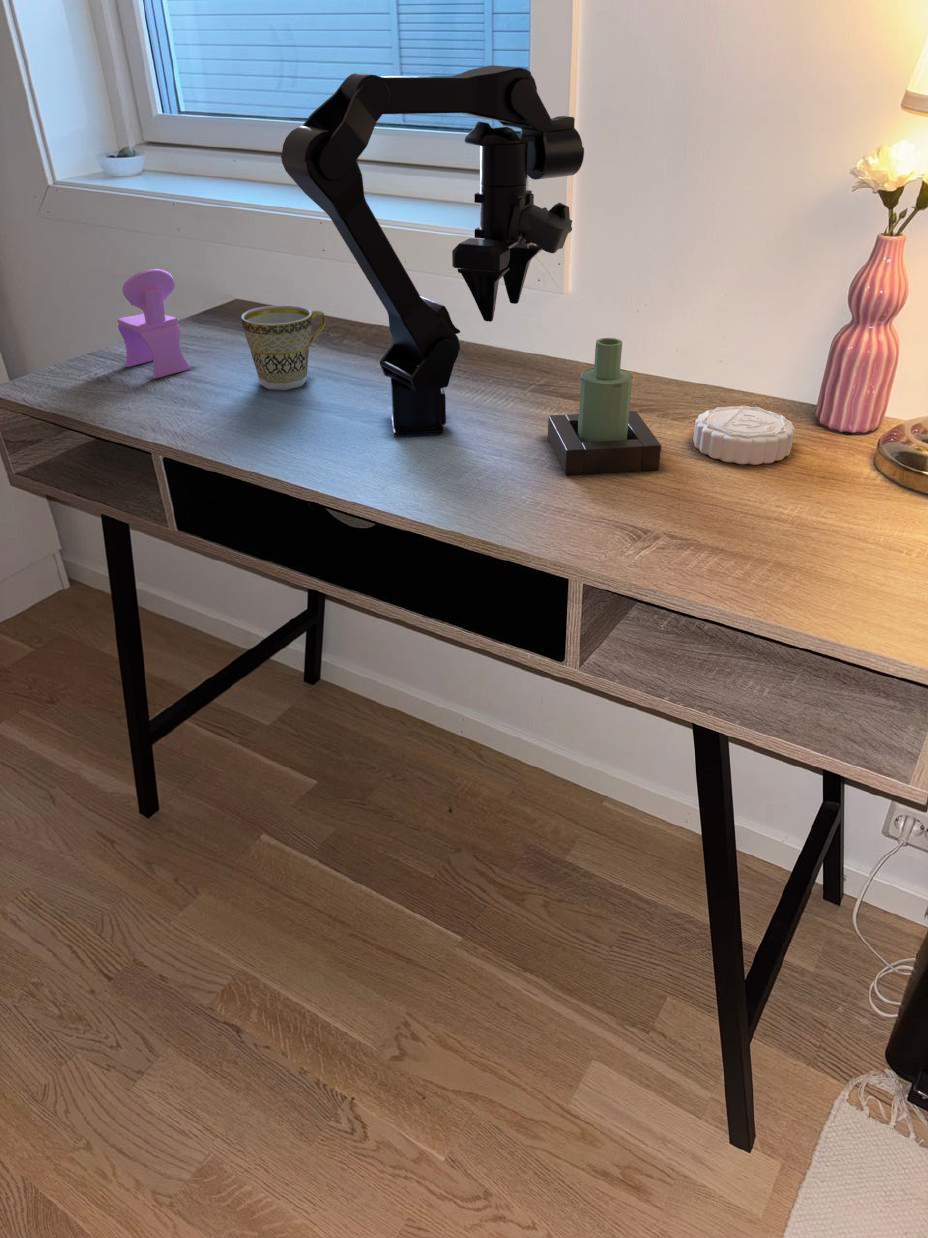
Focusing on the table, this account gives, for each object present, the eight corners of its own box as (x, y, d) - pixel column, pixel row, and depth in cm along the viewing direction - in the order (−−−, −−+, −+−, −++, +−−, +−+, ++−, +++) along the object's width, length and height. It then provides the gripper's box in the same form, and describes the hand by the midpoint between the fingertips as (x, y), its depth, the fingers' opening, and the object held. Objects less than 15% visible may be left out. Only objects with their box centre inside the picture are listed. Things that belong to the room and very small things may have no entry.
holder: (565, 475, 116) (566, 450, 114) (547, 438, 125) (548, 415, 123) (658, 470, 117) (661, 445, 115) (634, 434, 126) (636, 410, 125)
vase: (587, 466, 118) (595, 351, 110) (569, 447, 123) (575, 336, 115) (633, 460, 119) (643, 346, 112) (613, 442, 124) (622, 332, 117)
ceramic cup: (270, 399, 138) (262, 328, 133) (237, 381, 145) (228, 313, 140) (347, 379, 145) (342, 311, 140) (312, 363, 152) (306, 297, 146)
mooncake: (774, 473, 116) (779, 444, 114) (678, 452, 121) (681, 425, 119) (802, 440, 124) (807, 413, 122) (712, 422, 130) (715, 396, 128)
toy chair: (166, 355, 156) (148, 257, 148) (196, 367, 150) (180, 266, 142) (118, 367, 151) (98, 266, 143) (148, 380, 146) (129, 276, 137)
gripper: (539, 199, 110) (535, 338, 118) (589, 175, 124) (582, 300, 133) (449, 193, 114) (451, 328, 122) (507, 171, 128) (505, 292, 136)
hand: (501, 311), depth 128 cm, fingers open, 9 cm apart
